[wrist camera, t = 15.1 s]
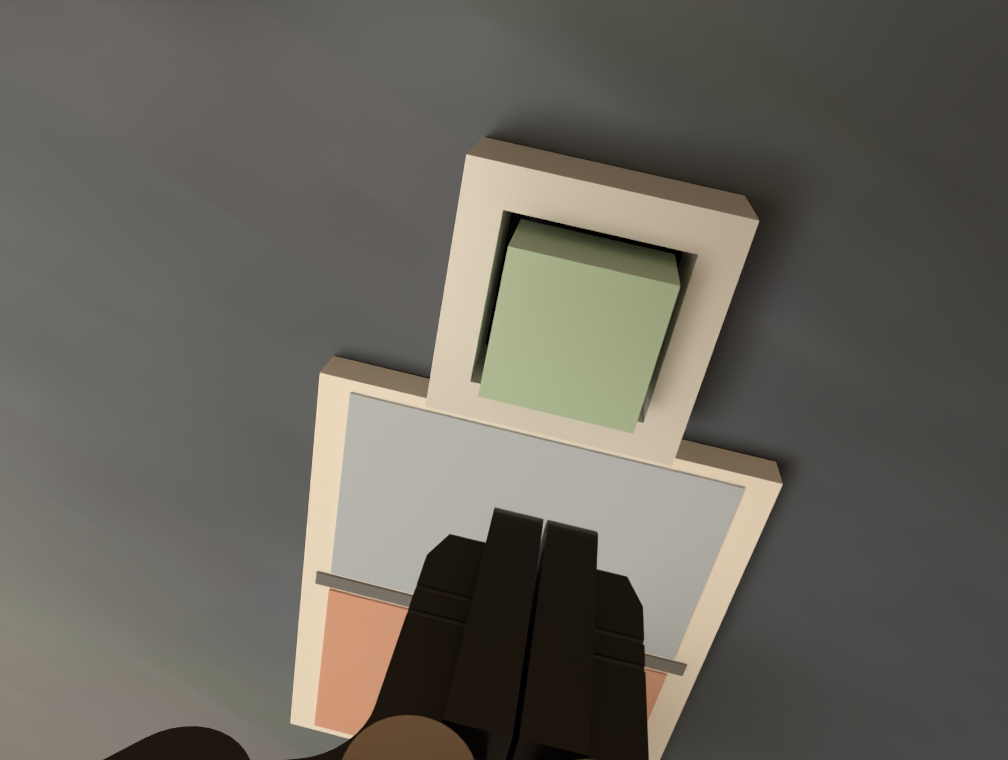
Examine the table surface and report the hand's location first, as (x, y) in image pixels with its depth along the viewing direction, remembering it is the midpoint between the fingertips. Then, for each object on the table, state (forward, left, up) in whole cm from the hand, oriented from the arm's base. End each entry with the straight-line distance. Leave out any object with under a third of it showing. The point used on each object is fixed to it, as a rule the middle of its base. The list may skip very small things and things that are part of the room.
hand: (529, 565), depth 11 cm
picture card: (0, +12, -12) cm, 17 cm away
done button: (0, 0, -11) cm, 11 cm away
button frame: (0, 0, -12) cm, 12 cm away
